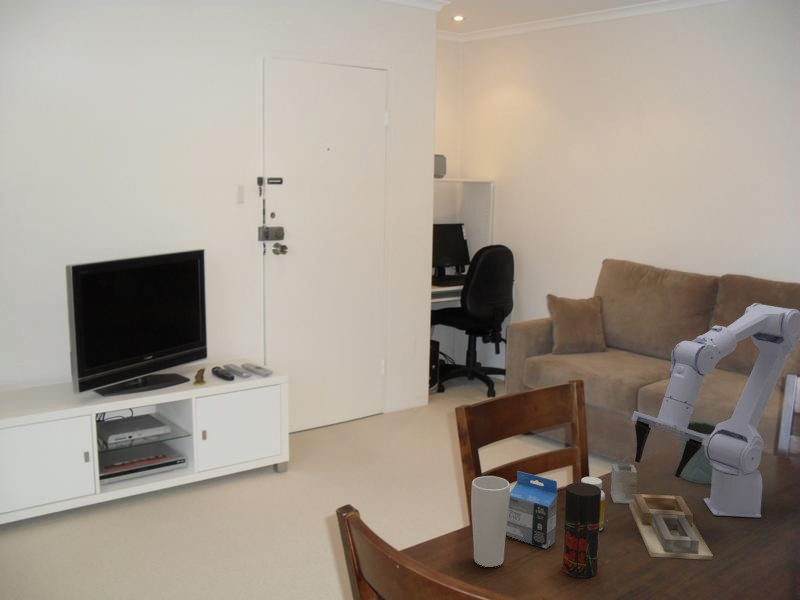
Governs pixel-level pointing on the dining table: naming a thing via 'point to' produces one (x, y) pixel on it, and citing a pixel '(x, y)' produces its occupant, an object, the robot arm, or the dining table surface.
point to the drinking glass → (489, 519)
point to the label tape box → (533, 510)
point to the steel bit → (623, 483)
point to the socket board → (668, 527)
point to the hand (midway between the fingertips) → (656, 469)
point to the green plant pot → (698, 455)
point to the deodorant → (581, 530)
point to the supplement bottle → (598, 483)
